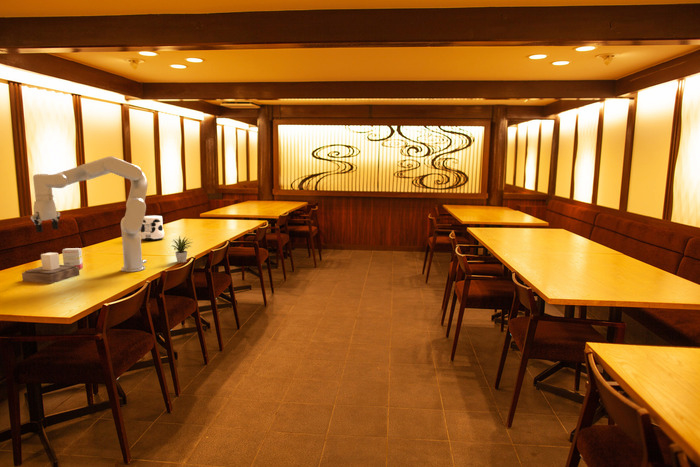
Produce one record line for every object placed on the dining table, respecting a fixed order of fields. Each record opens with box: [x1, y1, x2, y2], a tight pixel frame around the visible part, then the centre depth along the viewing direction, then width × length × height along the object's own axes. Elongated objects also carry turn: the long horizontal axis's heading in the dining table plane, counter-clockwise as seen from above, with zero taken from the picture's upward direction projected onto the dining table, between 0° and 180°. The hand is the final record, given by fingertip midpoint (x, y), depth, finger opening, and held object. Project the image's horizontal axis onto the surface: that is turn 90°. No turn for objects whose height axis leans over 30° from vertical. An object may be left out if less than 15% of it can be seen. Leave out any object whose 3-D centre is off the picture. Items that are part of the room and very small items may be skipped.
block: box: [40, 252, 61, 270], centre depth 241 cm, size 6×6×8 cm
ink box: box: [61, 247, 84, 270], centre depth 262 cm, size 9×5×12 cm, turn 102°
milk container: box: [140, 215, 165, 241], centre depth 354 cm, size 17×17×18 cm
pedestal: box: [21, 264, 80, 285], centre depth 242 cm, size 18×18×5 cm
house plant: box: [171, 235, 194, 264], centre depth 281 cm, size 14×14×16 cm
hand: (47, 230), depth 239 cm, fingers open, 9 cm apart
